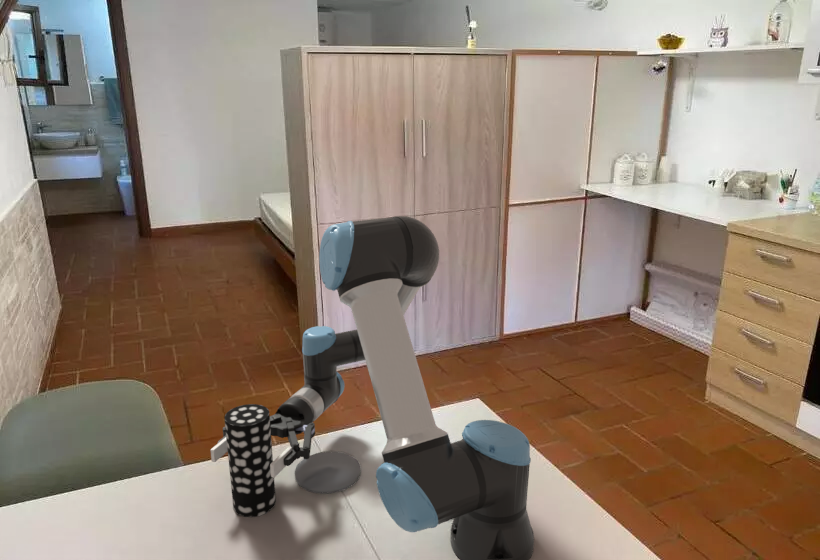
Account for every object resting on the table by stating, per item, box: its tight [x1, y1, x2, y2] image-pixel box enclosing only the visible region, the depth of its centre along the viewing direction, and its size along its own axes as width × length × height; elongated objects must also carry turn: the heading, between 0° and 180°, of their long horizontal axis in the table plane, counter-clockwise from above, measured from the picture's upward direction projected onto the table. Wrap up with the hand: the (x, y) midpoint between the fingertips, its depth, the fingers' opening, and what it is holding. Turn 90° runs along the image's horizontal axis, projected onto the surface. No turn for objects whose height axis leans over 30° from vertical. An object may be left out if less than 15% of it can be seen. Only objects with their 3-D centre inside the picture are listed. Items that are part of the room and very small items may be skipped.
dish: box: [294, 450, 362, 494], centre depth 135 cm, size 14×14×2 cm
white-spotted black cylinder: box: [224, 403, 277, 518], centre depth 123 cm, size 8×8×20 cm
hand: (241, 463), depth 121 cm, fingers open, 13 cm apart
